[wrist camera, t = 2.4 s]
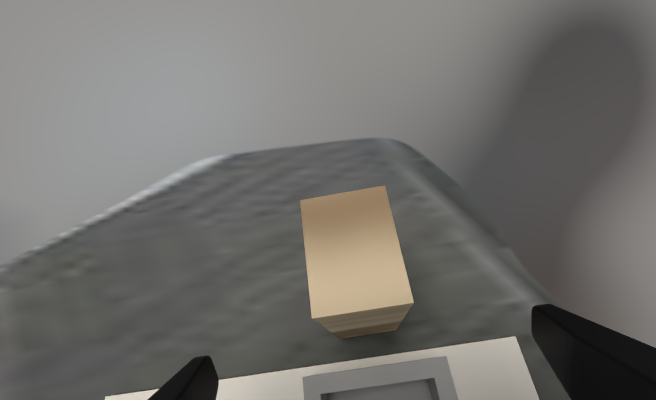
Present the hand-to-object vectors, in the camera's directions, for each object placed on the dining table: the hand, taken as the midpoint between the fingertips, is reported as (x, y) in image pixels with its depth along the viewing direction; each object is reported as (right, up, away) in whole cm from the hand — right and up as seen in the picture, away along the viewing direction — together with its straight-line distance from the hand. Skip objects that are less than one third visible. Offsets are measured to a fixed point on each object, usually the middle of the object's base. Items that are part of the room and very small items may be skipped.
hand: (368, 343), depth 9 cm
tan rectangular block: (+1, -2, +11) cm, 12 cm away
